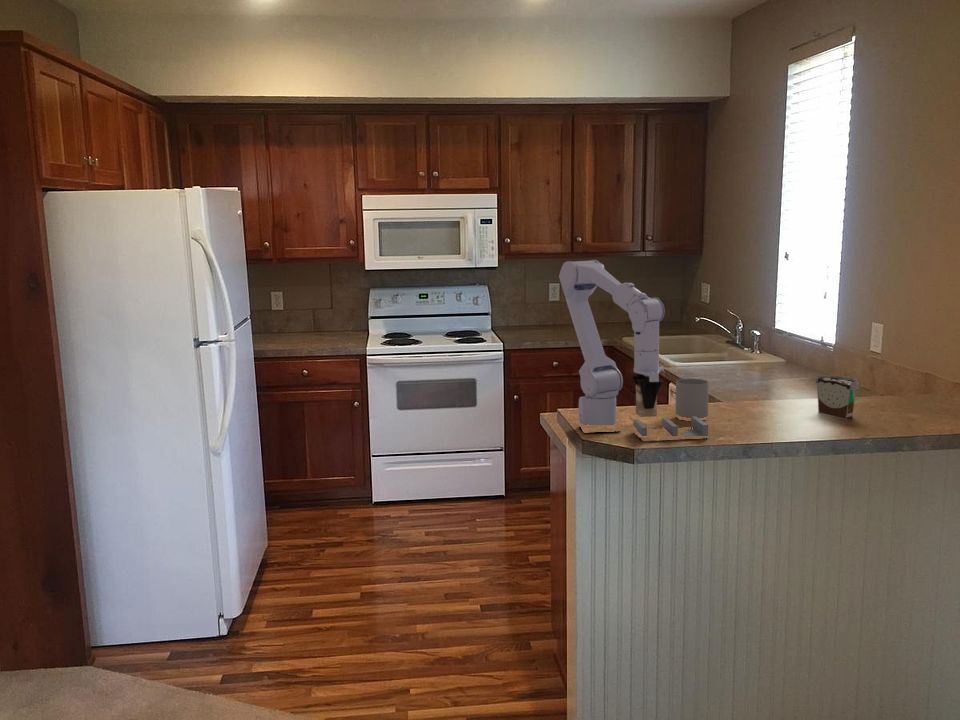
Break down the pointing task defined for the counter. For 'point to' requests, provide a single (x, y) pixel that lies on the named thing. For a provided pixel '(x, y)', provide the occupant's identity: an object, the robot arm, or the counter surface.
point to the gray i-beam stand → (676, 427)
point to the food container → (836, 395)
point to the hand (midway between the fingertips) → (646, 406)
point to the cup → (692, 398)
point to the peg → (640, 407)
